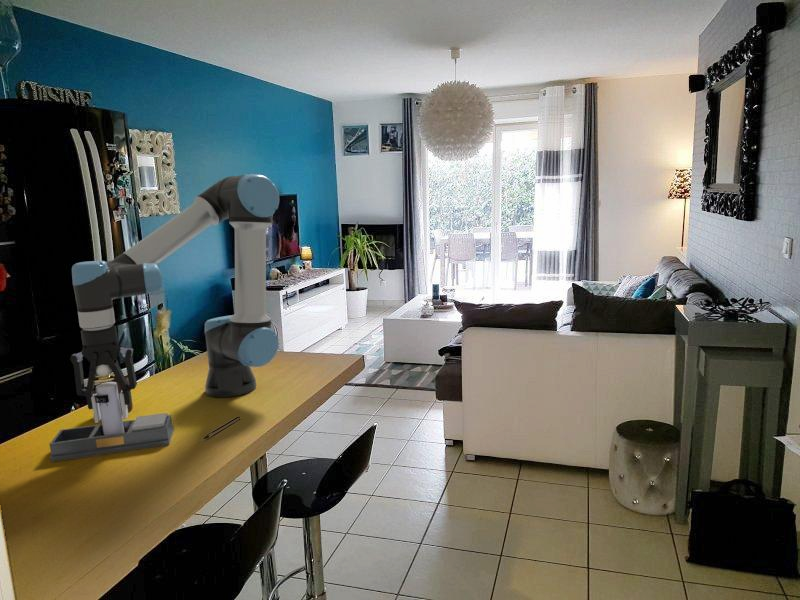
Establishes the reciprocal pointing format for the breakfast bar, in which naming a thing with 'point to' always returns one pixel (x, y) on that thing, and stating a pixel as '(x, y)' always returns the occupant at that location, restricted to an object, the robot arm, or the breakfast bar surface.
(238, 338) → the robot arm
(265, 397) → the breakfast bar surface
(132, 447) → the rack
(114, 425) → the perfume bottle
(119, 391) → the mug
